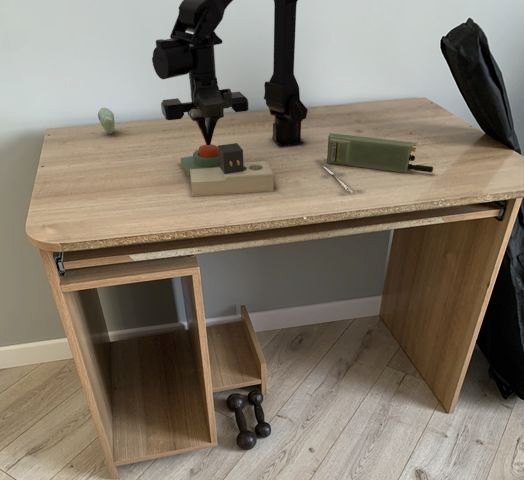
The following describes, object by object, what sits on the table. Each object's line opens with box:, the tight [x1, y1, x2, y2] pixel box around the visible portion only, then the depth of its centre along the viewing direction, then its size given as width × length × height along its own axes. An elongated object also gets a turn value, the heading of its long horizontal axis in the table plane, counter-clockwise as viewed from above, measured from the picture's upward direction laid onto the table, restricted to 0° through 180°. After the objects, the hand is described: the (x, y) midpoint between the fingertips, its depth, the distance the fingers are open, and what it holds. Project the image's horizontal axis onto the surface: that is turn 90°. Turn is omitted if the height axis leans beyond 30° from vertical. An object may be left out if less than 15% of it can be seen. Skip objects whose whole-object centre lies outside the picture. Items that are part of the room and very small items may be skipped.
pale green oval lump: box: [97, 107, 116, 135], centre depth 138 cm, size 8×4×7 cm, turn 14°
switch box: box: [180, 149, 219, 180], centre depth 121 cm, size 12×9×4 cm
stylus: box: [322, 165, 353, 194], centre depth 117 cm, size 4×1×19 cm
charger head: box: [217, 142, 244, 174], centre depth 109 cm, size 4×6×5 cm
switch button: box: [198, 143, 218, 158], centre depth 119 cm, size 4×4×2 cm
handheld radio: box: [326, 132, 434, 174], centre depth 119 cm, size 7×3×25 cm
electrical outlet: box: [190, 160, 275, 197], centre depth 113 cm, size 7×4×18 cm
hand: (208, 144), depth 118 cm, fingers closed
